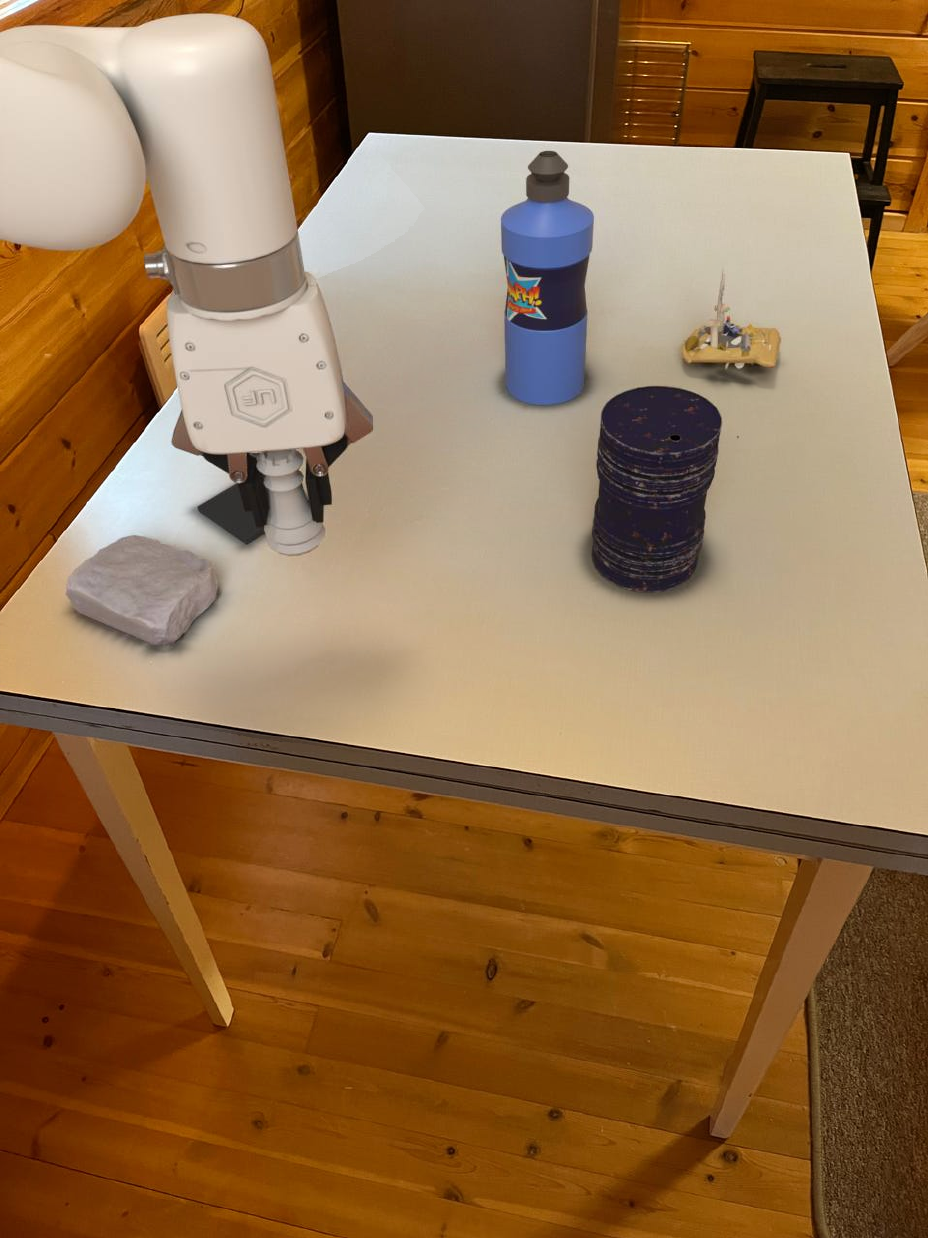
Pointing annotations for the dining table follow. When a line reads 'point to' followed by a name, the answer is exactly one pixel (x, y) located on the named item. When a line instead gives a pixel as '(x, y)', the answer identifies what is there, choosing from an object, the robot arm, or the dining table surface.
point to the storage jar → (653, 486)
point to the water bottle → (546, 286)
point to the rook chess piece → (288, 505)
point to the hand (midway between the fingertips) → (290, 511)
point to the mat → (232, 514)
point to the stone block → (143, 588)
